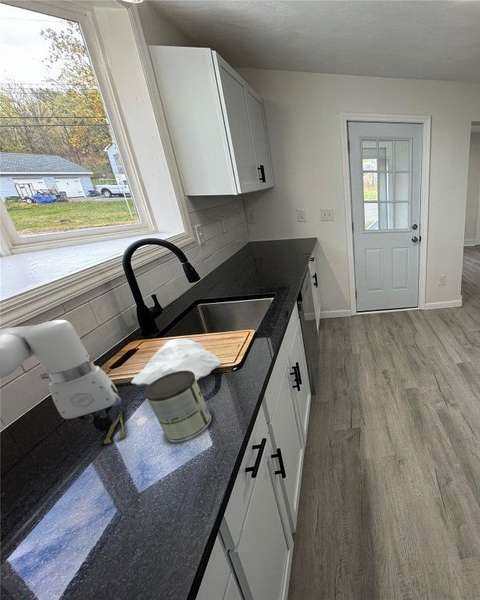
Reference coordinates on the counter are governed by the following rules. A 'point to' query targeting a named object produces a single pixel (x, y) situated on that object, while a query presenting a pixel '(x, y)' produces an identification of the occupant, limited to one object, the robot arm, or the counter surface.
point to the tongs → (113, 429)
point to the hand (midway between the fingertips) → (106, 427)
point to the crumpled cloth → (178, 361)
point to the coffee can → (178, 405)
